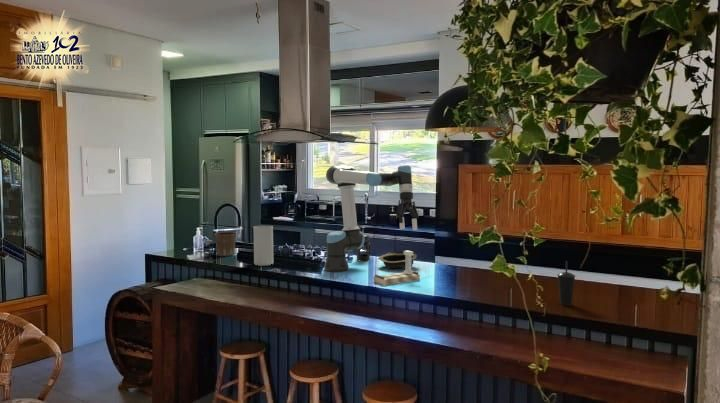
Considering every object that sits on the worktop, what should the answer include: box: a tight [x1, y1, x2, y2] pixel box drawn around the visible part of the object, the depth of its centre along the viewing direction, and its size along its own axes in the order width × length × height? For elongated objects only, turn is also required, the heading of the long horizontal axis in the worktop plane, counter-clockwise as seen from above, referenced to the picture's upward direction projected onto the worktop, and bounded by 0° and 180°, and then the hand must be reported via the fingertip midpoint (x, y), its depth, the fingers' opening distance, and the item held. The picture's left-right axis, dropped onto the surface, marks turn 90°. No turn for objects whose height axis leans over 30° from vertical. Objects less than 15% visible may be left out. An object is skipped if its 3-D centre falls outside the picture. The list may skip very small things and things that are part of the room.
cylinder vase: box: [252, 225, 274, 267], centre depth 335 cm, size 12×12×25 cm
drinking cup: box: [556, 260, 576, 307], centre depth 230 cm, size 8×8×20 cm
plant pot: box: [213, 231, 238, 257], centre depth 372 cm, size 16×16×16 cm
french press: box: [356, 226, 371, 262], centre depth 348 cm, size 12×9×23 cm
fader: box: [403, 249, 414, 274], centre depth 286 cm, size 3×5×13 cm, turn 32°
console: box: [373, 269, 421, 286], centre depth 282 cm, size 24×10×4 cm, turn 121°
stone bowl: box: [377, 250, 418, 270], centre depth 322 cm, size 25×25×9 cm
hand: (408, 229), depth 286 cm, fingers open, 13 cm apart
